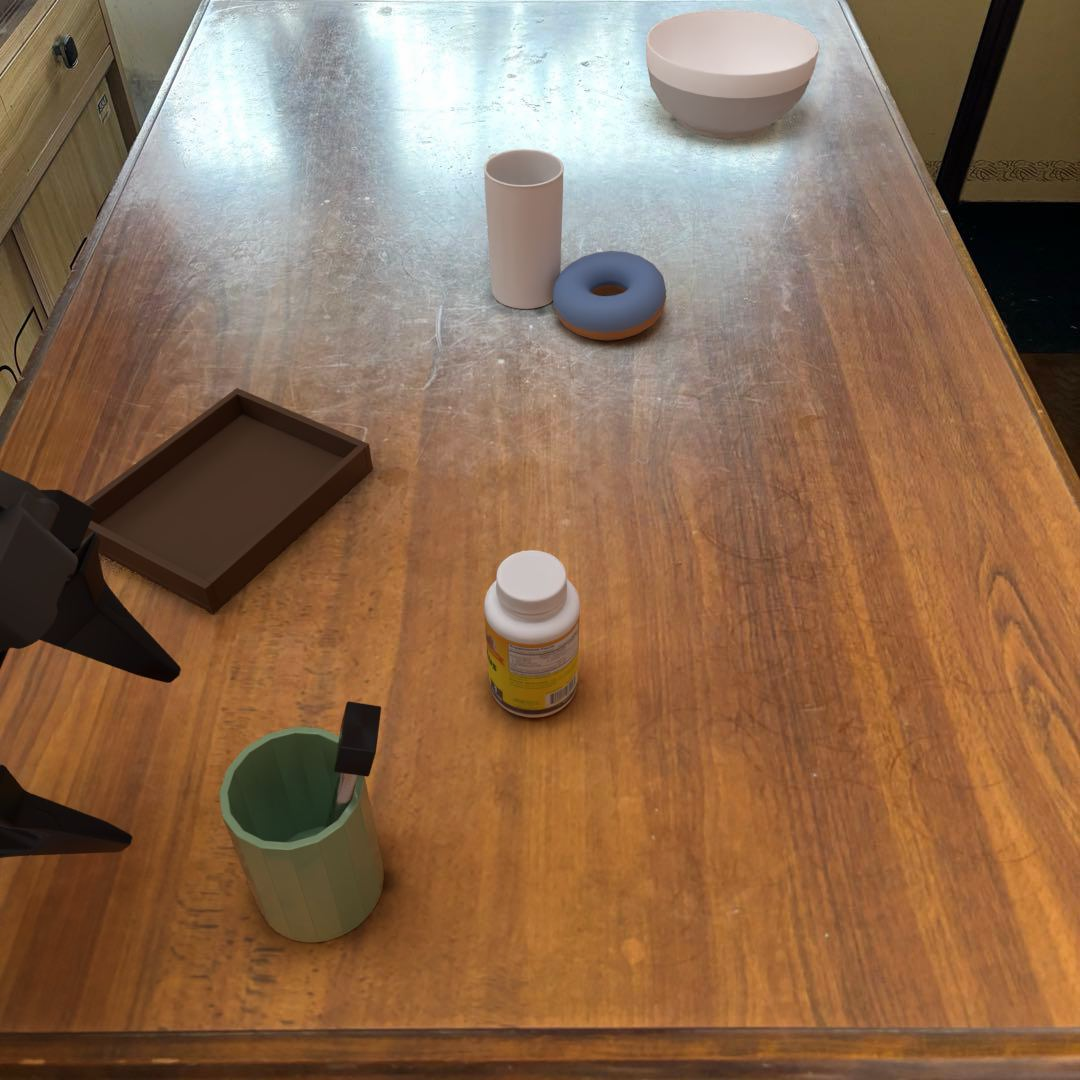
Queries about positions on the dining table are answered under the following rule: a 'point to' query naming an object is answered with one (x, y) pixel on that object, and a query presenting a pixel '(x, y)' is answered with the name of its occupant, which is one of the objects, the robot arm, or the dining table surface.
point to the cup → (302, 835)
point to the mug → (524, 225)
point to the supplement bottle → (532, 635)
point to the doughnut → (609, 314)
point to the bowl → (729, 69)
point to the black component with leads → (354, 752)
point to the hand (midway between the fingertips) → (153, 755)
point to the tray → (225, 497)
